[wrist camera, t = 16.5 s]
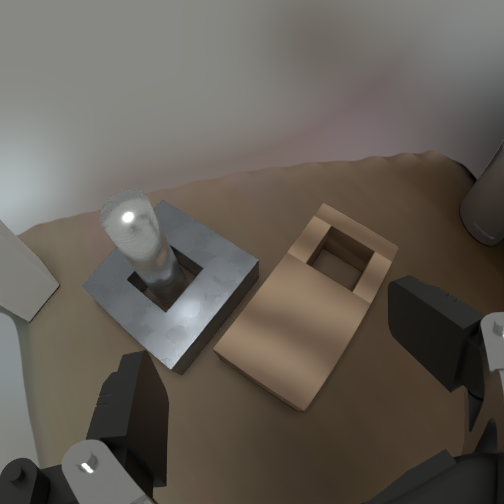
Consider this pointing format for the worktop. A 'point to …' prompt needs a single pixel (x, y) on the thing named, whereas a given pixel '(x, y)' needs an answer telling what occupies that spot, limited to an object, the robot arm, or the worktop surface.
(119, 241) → the axle
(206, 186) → the worktop surface
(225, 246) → the holder
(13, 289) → the milk carton
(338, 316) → the wooden block with hole
